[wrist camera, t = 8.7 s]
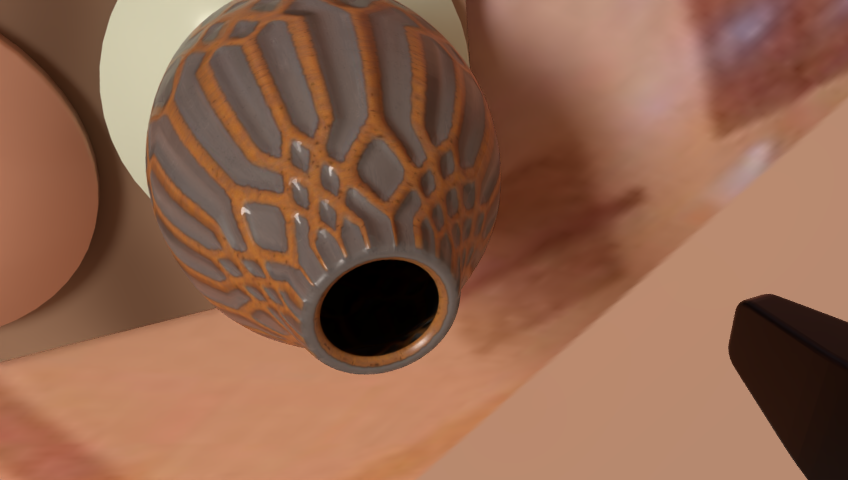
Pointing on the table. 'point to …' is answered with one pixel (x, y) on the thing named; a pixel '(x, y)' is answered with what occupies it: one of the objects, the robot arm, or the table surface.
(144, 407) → the table surface
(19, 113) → the terracotta disc
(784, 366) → the robot arm
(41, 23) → the board
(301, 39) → the vase
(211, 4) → the cream disc
